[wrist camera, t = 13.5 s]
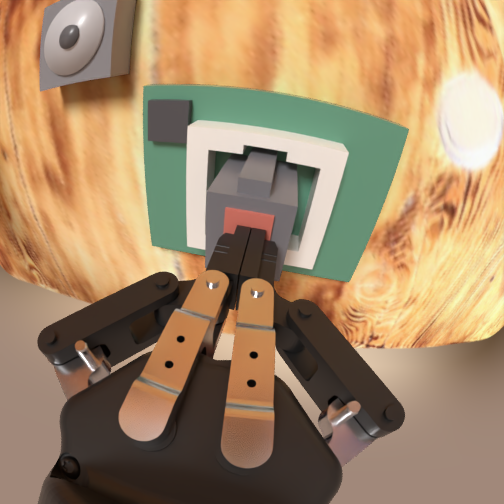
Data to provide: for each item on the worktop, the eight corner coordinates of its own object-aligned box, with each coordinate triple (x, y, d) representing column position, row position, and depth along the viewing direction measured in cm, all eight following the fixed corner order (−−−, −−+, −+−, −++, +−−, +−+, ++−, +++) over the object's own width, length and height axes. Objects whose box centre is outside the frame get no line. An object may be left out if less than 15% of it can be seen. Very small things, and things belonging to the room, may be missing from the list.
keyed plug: (226, 215, 21) (204, 269, 16) (233, 142, 17) (206, 178, 12) (284, 225, 20) (278, 283, 16) (299, 153, 17) (301, 194, 12)
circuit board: (157, 237, 25) (143, 259, 22) (151, 84, 16) (128, 89, 13) (347, 273, 24) (351, 298, 21) (402, 125, 15) (420, 137, 13)
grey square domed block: (59, 85, 15) (35, 92, 13) (64, 8, 10) (40, 8, 8) (129, 73, 15) (106, 77, 13) (139, -17, 10) (117, -24, 8)
